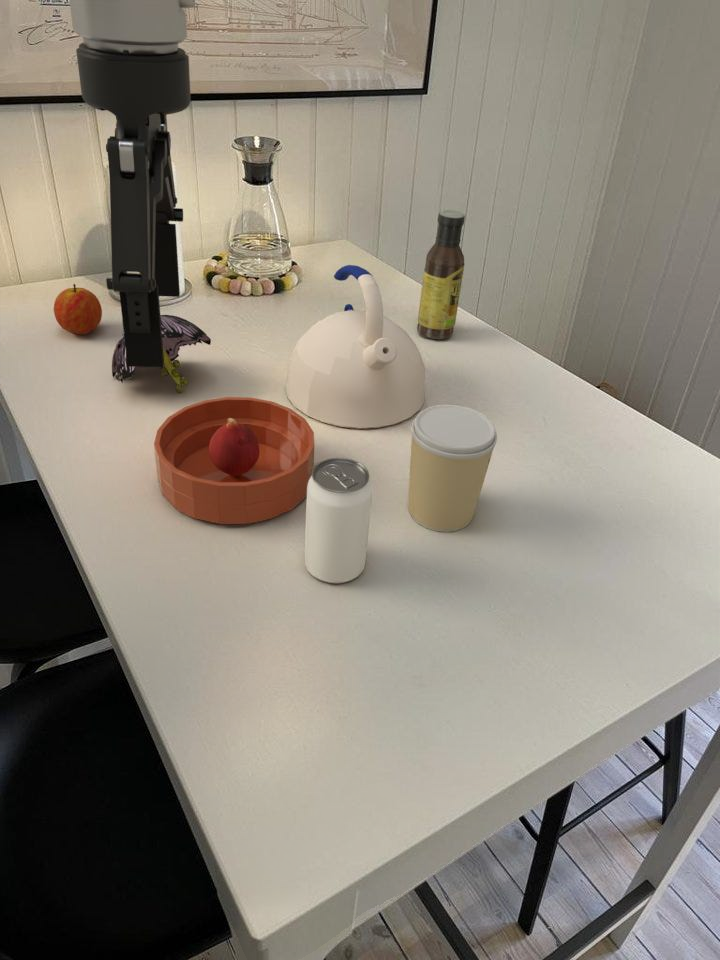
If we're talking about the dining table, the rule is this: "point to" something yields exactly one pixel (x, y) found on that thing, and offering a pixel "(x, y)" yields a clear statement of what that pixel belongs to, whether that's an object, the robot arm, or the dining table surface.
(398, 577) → the dining table surface
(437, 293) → the sauce bottle
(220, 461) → the onion
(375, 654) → the dining table surface
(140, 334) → the robot arm
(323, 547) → the can
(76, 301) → the fruit
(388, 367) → the kettle
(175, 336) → the purple butterfly
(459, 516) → the coffee cup
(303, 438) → the bowl
